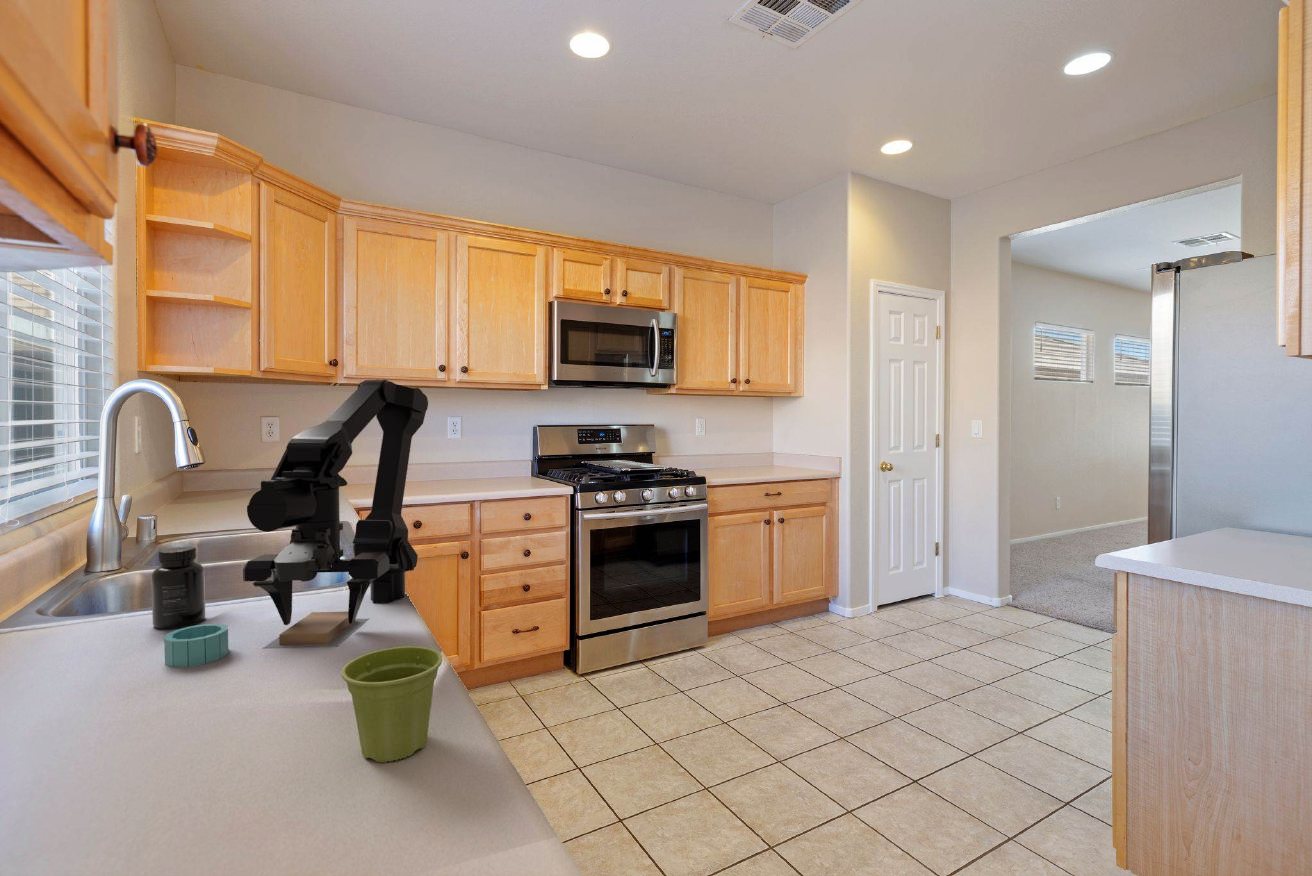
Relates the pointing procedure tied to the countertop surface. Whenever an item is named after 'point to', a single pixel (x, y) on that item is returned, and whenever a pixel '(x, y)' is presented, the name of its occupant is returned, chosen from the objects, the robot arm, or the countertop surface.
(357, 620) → the trivet
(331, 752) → the countertop surface
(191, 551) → the supplement bottle
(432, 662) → the plant pot
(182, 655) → the ramekin
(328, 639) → the walnut board
